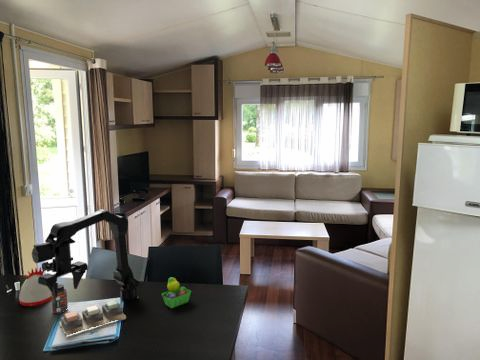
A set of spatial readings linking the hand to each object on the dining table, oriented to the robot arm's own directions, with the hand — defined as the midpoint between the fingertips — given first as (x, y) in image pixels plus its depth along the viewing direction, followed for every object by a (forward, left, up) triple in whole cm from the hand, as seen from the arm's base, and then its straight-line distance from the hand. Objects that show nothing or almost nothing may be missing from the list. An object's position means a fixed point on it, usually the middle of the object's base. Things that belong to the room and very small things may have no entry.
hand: (65, 293), depth 151 cm
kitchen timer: (+6, -32, -13) cm, 36 cm away
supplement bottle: (0, -13, -13) cm, 19 cm away
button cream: (-9, +5, -10) cm, 14 cm away
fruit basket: (-43, +11, -13) cm, 46 cm away
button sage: (-16, +5, -10) cm, 20 cm away
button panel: (-9, +5, -13) cm, 16 cm away
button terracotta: (0, +5, -10) cm, 11 cm away
